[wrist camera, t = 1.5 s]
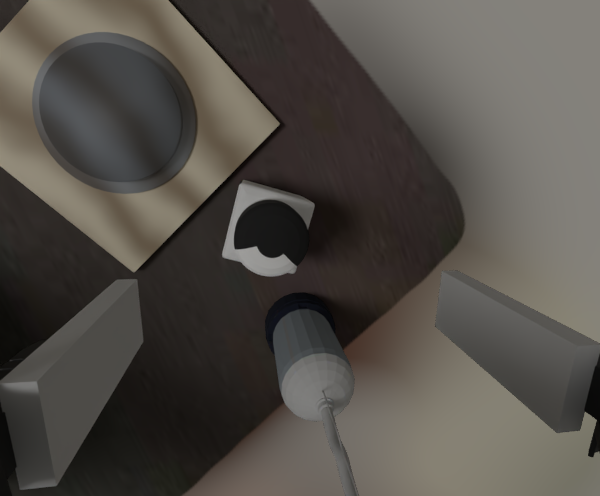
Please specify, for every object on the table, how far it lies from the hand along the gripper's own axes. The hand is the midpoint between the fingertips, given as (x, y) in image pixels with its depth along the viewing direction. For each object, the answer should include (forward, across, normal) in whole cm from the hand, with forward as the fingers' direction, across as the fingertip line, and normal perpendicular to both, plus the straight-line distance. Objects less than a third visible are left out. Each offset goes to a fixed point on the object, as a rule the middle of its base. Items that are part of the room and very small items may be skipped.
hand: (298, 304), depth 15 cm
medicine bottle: (+24, 0, 0) cm, 25 cm away
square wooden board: (+24, -14, +10) cm, 30 cm away
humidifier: (+24, +4, -13) cm, 28 cm away
